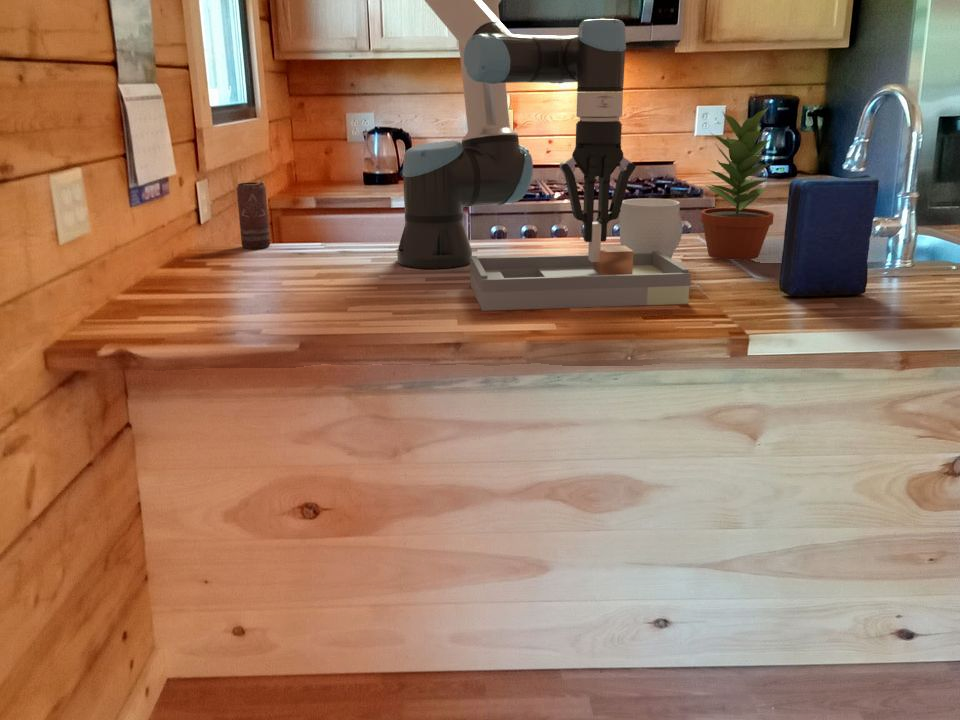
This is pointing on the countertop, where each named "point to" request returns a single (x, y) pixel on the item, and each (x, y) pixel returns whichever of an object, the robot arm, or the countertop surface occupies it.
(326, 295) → the countertop surface
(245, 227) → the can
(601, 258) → the block
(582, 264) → the box
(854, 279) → the book
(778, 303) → the countertop surface
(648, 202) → the mug
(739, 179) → the potted plant
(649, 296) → the pad
